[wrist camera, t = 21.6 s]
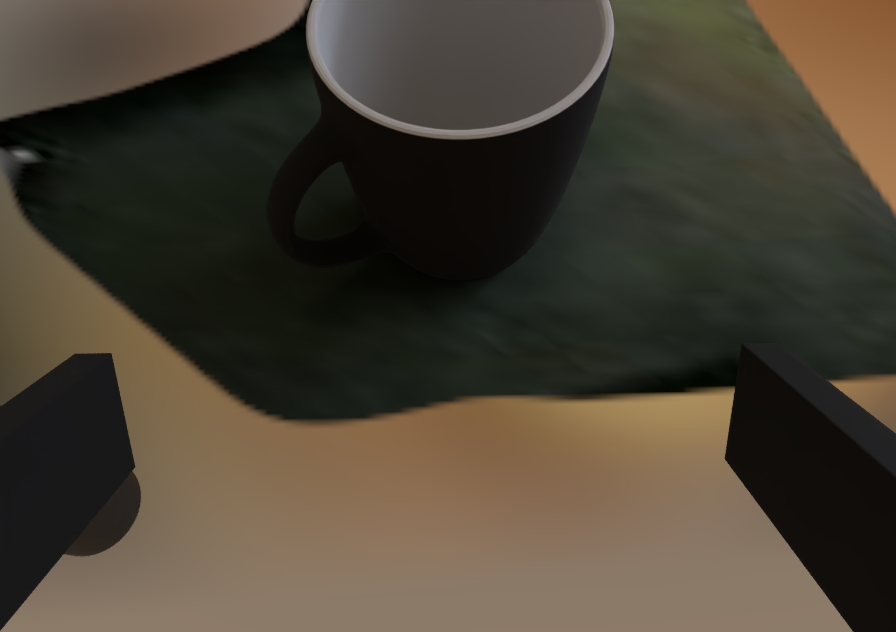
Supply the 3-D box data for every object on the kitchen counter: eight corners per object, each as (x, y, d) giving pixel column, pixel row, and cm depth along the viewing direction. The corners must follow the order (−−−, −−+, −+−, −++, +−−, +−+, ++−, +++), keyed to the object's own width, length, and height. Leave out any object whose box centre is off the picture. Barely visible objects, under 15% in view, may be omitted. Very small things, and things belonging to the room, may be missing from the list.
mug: (479, 106, 30) (487, -118, 21) (608, 235, 27) (683, 37, 18) (255, 235, 27) (152, 41, 18) (370, 396, 24) (315, 260, 15)
